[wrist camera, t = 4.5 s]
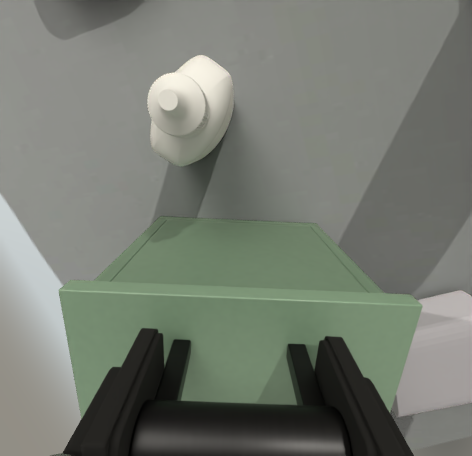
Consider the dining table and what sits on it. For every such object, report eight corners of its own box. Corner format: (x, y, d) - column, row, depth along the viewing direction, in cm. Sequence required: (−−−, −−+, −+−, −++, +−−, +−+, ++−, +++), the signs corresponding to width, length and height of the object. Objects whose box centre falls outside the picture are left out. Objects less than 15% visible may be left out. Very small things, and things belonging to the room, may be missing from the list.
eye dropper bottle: (249, 130, 21) (266, 117, 10) (189, 165, 22) (138, 191, 11) (222, 76, 20) (204, -12, 9) (159, 115, 21) (66, 82, 9)
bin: (160, 216, 23) (76, 296, 11) (316, 223, 23) (402, 310, 11) (166, 368, 28) (112, 539, 16) (294, 373, 28) (338, 546, 16)
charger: (521, 348, 27) (373, 379, 29) (525, 269, 25) (362, 307, 26) (577, 389, 23) (399, 423, 24) (589, 297, 20) (388, 342, 21)
